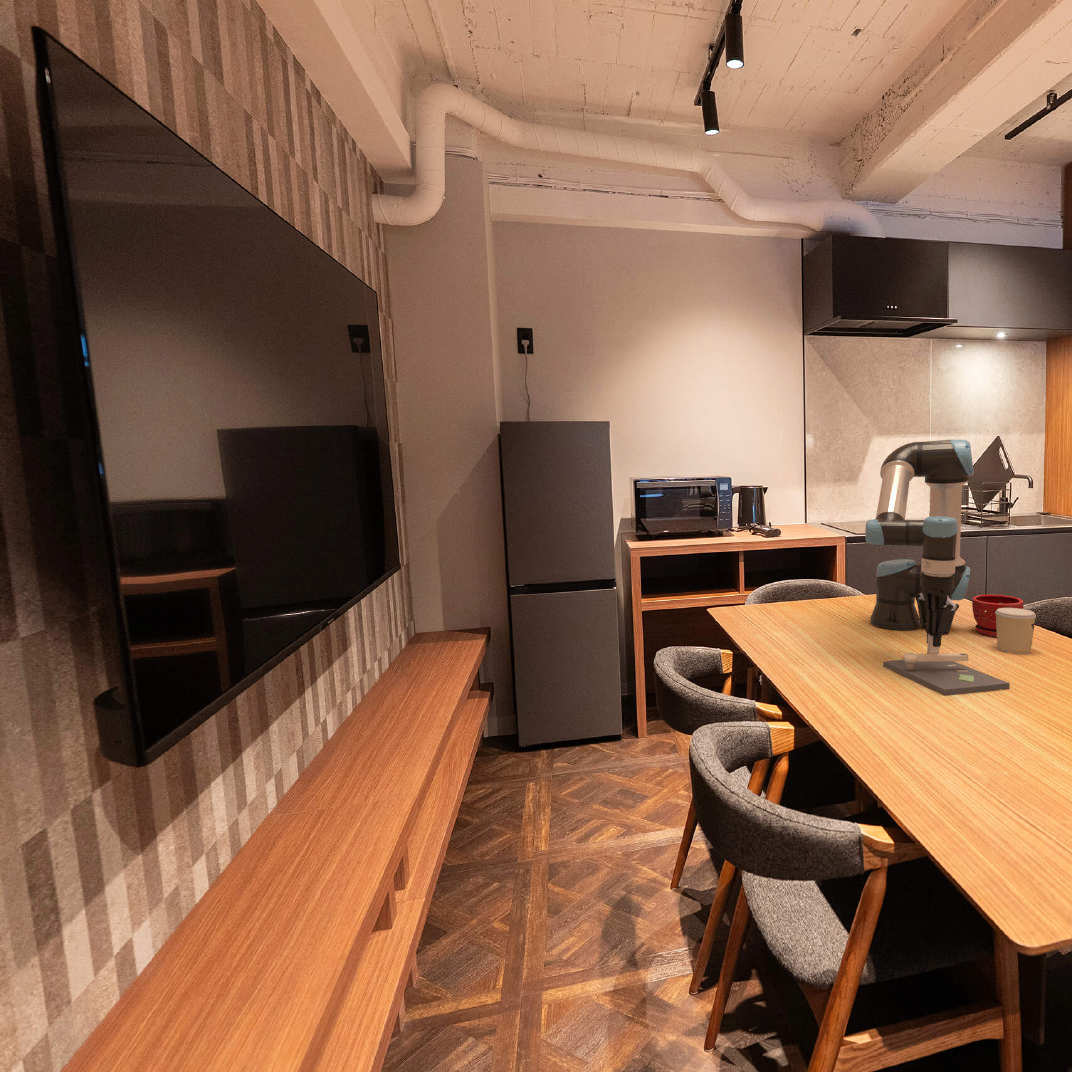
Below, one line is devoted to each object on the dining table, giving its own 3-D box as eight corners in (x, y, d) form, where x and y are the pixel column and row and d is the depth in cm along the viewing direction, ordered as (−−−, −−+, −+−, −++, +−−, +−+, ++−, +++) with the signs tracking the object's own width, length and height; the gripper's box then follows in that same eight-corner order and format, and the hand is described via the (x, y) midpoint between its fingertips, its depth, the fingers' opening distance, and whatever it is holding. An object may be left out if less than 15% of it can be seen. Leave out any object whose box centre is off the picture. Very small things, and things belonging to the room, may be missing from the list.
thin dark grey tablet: (882, 666, 166) (883, 653, 165) (939, 660, 168) (940, 648, 167) (944, 695, 144) (945, 680, 144) (1009, 688, 146) (1010, 674, 145)
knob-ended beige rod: (907, 663, 156) (907, 656, 156) (901, 659, 159) (901, 652, 159) (970, 662, 154) (970, 655, 154) (962, 658, 157) (963, 652, 157)
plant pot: (974, 626, 198) (976, 592, 197) (1024, 632, 189) (1026, 596, 188) (967, 635, 189) (969, 599, 188) (1019, 642, 180) (1021, 605, 179)
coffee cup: (1041, 655, 168) (1043, 615, 166) (1005, 654, 170) (1007, 615, 168) (1021, 645, 177) (1023, 607, 176) (987, 644, 179) (988, 607, 177)
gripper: (907, 570, 161) (903, 650, 164) (943, 579, 149) (938, 666, 152) (932, 568, 162) (927, 648, 165) (969, 577, 149) (964, 663, 153)
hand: (932, 656), depth 158 cm, fingers closed
